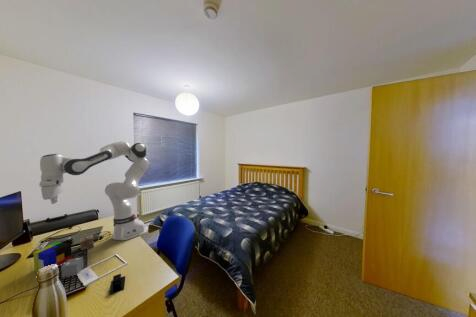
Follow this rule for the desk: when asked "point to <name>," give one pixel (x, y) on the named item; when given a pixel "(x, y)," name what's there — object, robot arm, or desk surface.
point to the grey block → (72, 267)
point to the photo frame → (89, 276)
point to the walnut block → (87, 242)
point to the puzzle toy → (52, 255)
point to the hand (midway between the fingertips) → (54, 203)
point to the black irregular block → (117, 284)
